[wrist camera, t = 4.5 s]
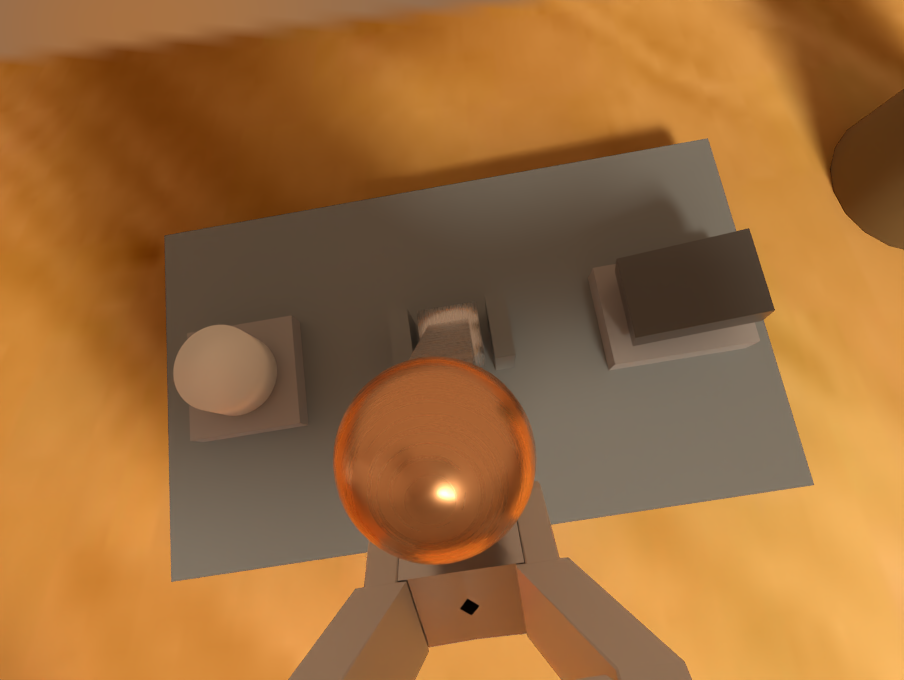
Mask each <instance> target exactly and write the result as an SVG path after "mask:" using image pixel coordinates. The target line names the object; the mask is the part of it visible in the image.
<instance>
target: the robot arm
mask: <svg viewBox="0 0 904 680" xmlns="http://www.w3.org/2000/svg"><path fill="white" fill-rule="evenodd" d="M526 633H527V636H528V638H529V639H530V640H531V641H532V643H533V644H534V645H535V647H536V648H537V649H538V650H539V652H540V653H541V654H542V656H543V657H544V658H545V659H546V661H547V662H548V663H549V664H550V666H551V667H552V668H553V670H554V671H555V672H556V673H557V675H558V676H559V677H560V678H561V680H692V678H691V676H690V674H689V671H688V669H687V666H686V664H685V662H684V661H683V660H682V659H681V658H680V657H679V656H678V655H677V654H675V653H674V652H673V651H672V650H671V649H670V648H669V647H668V646H667V645H665V644H664V643H663V642H662V641H661V640H660V639H659V638H658V637H656V636H655V635H654V634H653V633H652V632H651V631H650V630H649V629H648V628H646V627H645V626H644V625H643V624H642V623H641V622H640V621H639V620H638V619H636V618H635V617H634V616H633V615H632V614H631V613H630V612H629V611H627V610H626V609H625V608H624V607H623V606H622V605H621V604H620V603H619V602H617V601H616V600H615V599H614V598H613V597H612V596H611V595H610V594H609V593H607V592H606V591H605V590H604V589H603V588H602V587H601V586H600V585H598V584H597V583H596V582H595V581H594V580H593V579H592V578H591V577H590V576H588V575H587V574H586V573H585V572H584V571H583V570H582V569H581V568H580V567H578V566H577V565H576V564H575V563H574V562H573V561H572V560H571V559H569V558H559V554H558V551H557V547H556V543H555V539H554V535H553V531H552V527H551V523H550V519H549V516H548V512H547V508H546V504H545V500H544V496H543V492H542V488H541V485H540V483H539V482H538V481H534V484H533V489H532V492H531V495H530V498H529V500H528V502H527V505H526V507H525V509H524V511H523V512H522V514H521V516H520V517H519V519H518V520H517V522H516V523H515V524H514V526H513V527H512V528H511V529H510V530H509V532H508V533H507V534H506V535H505V536H504V537H503V538H501V539H500V540H499V541H498V542H497V543H496V544H494V545H493V546H491V547H490V548H488V549H487V550H485V551H483V552H481V553H479V554H477V555H475V556H473V557H471V558H468V559H465V560H462V561H459V562H454V563H449V564H439V565H431V564H420V563H413V562H409V561H406V560H403V559H400V558H397V557H395V556H393V555H390V554H388V553H387V552H385V551H383V550H381V549H380V548H378V547H377V546H376V545H374V544H373V543H372V542H370V541H369V543H368V553H367V563H366V572H365V582H364V587H363V588H357V589H355V590H354V592H353V593H352V594H351V596H350V597H349V598H348V600H347V601H346V602H345V604H344V605H343V606H342V608H341V609H340V610H339V612H338V613H337V615H336V616H335V617H334V619H333V620H332V621H331V623H330V624H329V625H328V627H327V628H326V629H325V631H324V632H323V633H322V635H321V636H320V637H319V639H318V640H317V642H316V643H315V644H314V646H313V647H312V648H311V650H310V651H309V652H308V654H307V655H306V656H305V658H304V659H303V660H302V662H301V663H300V665H299V666H298V667H297V669H296V670H295V671H294V673H293V674H292V675H291V677H290V678H289V679H288V680H415V679H416V677H417V675H418V673H419V671H420V669H421V667H422V664H423V662H424V660H425V658H426V656H427V654H428V652H429V649H428V647H434V646H439V645H445V644H451V643H457V642H463V641H469V640H474V639H482V638H491V637H500V636H508V635H517V634H526Z"/></svg>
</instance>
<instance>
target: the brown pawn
mask: <svg viewBox="0 0 904 680" xmlns="http://www.w3.org/2000/svg"><path fill="white" fill-rule="evenodd" d="M830 170H831V176H832V183H833V189H834V193H835V195H836V196H837V198H838V200H839V202H840V204H841V206H842V207H843V209H844V211H845V213H846V214H847V215H848V216H849V217H850V218H851V219H852V220H853V221H854V222H855V223H856V224H857V225H858V226H859V227H860V228H861V229H862V230H863V231H864V232H866V233H867V234H869V235H871V236H873V237H875V238H876V239H878V240H880V241H882V242H884V243H885V244H887V245H889V246H892V247H896V248H900V249H904V89H903V90H902V91H900V92H899V93H898V94H896V95H895V96H894V97H892V98H891V99H889V100H888V101H887V102H885V103H884V104H883V105H881V106H880V107H878V108H877V109H876V110H874V111H873V112H872V113H870V114H869V115H867V116H866V117H865V118H863V119H862V120H861V121H859V122H858V123H856V124H855V125H854V126H852V127H851V128H850V129H848V130H847V131H846V133H845V134H844V136H843V137H842V139H841V140H840V141H839V143H838V144H837V146H836V147H835V150H834V155H833V159H832V164H831V169H830Z"/></svg>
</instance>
